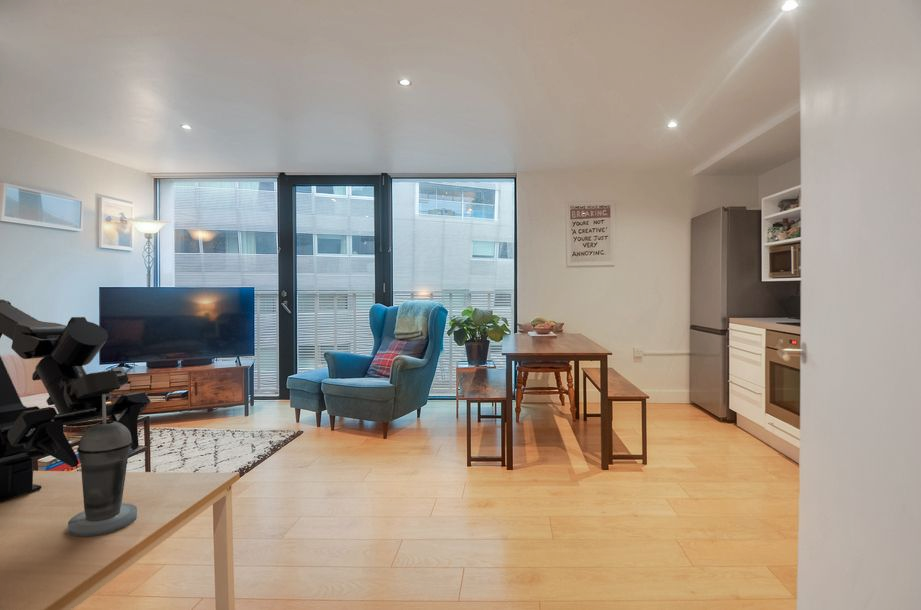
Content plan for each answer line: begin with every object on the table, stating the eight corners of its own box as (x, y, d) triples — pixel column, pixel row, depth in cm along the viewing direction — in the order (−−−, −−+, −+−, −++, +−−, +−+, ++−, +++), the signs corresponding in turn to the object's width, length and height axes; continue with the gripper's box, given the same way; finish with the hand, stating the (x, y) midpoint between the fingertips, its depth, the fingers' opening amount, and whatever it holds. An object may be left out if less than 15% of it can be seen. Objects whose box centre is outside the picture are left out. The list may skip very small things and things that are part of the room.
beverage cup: (87, 530, 70) (91, 402, 70) (65, 517, 73) (70, 395, 73) (138, 512, 76) (143, 394, 76) (117, 501, 80) (121, 389, 80)
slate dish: (53, 531, 72) (53, 523, 72) (110, 506, 80) (110, 499, 80) (95, 540, 69) (96, 532, 69) (149, 514, 78) (150, 507, 78)
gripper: (21, 359, 68) (65, 442, 64) (145, 348, 85) (185, 414, 81) (-11, 405, 70) (29, 488, 67) (116, 386, 88) (153, 450, 84)
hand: (107, 456), depth 75 cm, fingers open, 9 cm apart
